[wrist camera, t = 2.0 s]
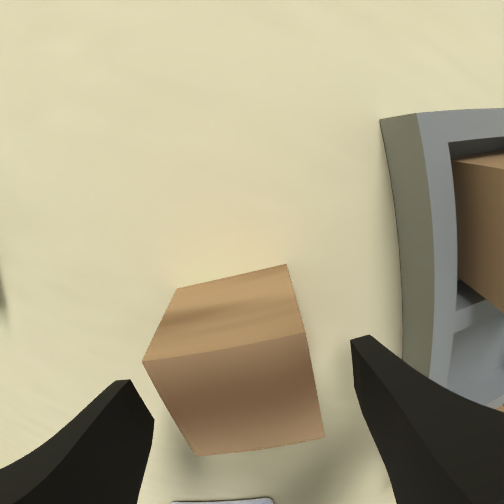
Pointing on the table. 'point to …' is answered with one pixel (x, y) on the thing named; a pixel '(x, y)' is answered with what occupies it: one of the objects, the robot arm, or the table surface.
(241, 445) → the walnut block
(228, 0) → the table surface
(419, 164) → the pocket tray
